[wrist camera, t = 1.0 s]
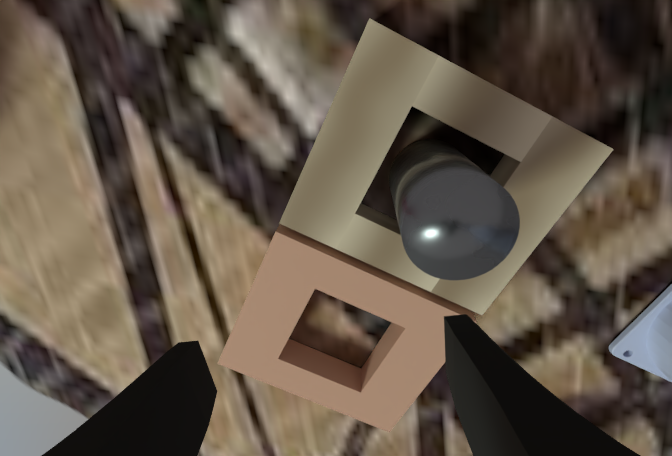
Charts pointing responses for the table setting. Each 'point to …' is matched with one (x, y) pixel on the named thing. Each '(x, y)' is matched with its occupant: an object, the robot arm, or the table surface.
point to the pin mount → (462, 114)
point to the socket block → (326, 371)
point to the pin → (451, 212)
